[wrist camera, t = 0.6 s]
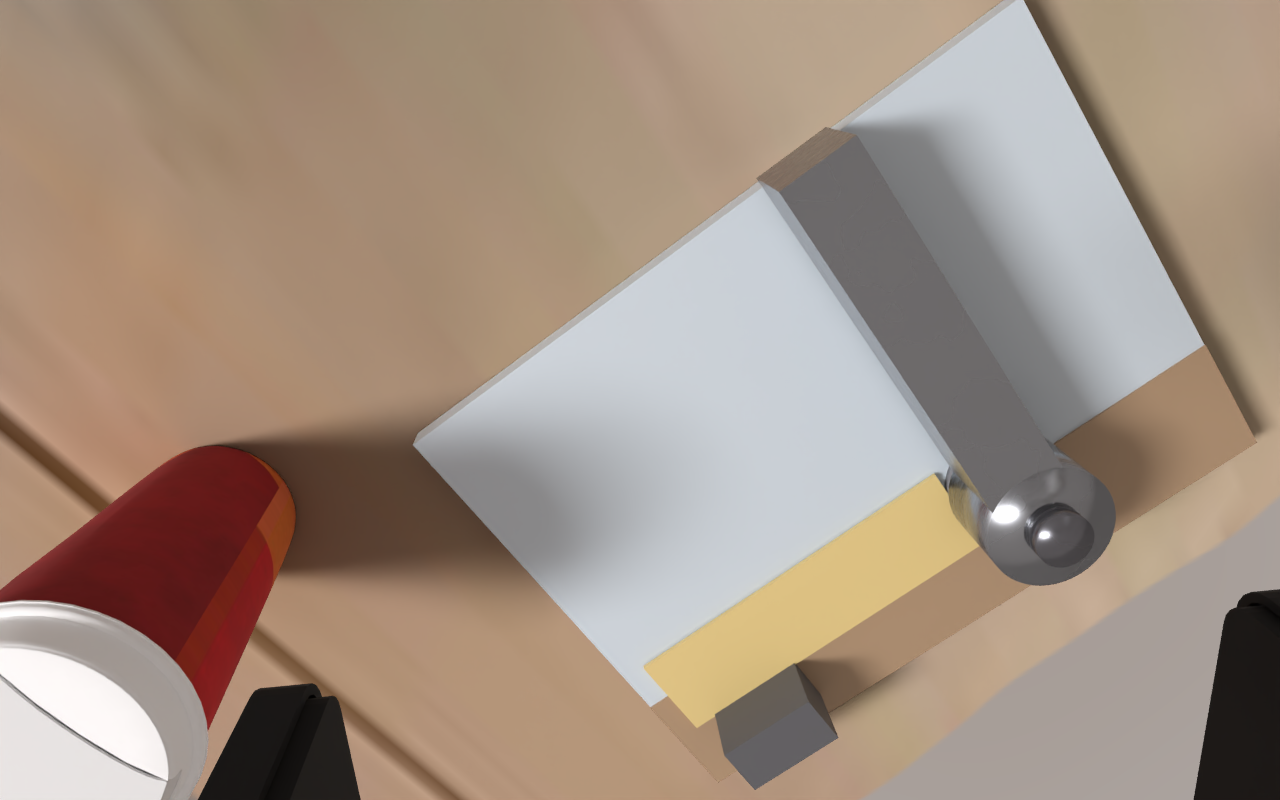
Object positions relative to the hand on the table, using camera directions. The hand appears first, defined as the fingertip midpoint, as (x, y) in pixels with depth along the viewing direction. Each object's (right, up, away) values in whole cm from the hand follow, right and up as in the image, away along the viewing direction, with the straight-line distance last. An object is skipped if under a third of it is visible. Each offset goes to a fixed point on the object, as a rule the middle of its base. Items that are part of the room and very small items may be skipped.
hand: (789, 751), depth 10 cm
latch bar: (+9, +5, +24) cm, 26 cm away
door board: (+6, +2, +27) cm, 28 cm away
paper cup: (-18, -1, +27) cm, 32 cm away
